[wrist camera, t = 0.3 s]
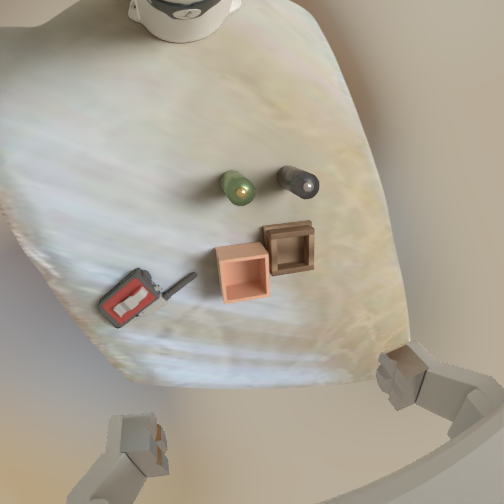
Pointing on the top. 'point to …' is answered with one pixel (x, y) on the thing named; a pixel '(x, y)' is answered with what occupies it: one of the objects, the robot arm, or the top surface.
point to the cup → (243, 272)
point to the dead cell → (298, 182)
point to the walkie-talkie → (136, 297)
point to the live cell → (237, 188)
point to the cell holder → (289, 247)
